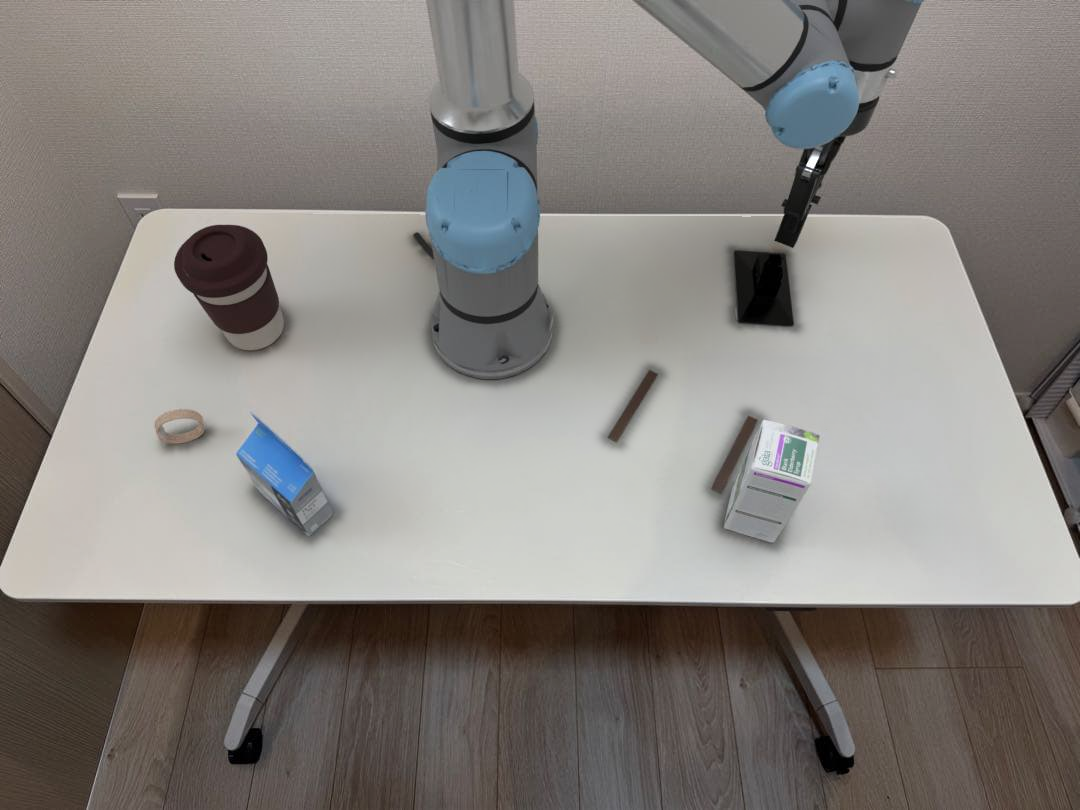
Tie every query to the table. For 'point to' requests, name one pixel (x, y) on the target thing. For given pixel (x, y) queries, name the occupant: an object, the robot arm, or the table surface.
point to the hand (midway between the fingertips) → (785, 240)
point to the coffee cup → (232, 283)
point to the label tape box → (284, 478)
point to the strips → (731, 457)
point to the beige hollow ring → (173, 415)
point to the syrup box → (771, 480)
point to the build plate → (762, 288)
